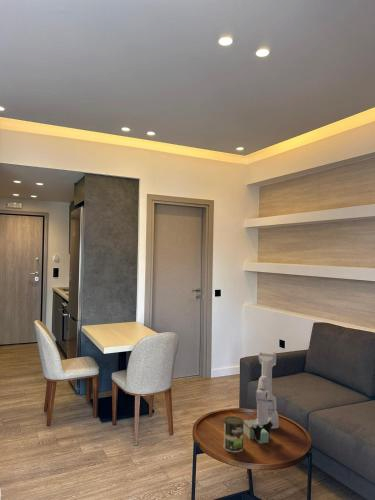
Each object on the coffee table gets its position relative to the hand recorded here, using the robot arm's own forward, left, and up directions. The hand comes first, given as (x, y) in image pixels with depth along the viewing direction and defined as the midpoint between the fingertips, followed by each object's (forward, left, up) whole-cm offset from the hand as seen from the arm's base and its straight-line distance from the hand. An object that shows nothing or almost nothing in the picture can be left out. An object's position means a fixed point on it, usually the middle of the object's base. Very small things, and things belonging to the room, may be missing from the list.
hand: (262, 438), depth 199 cm
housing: (0, -9, -2) cm, 9 cm away
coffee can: (+18, +3, -2) cm, 18 cm away
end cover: (0, -3, -2) cm, 3 cm away
